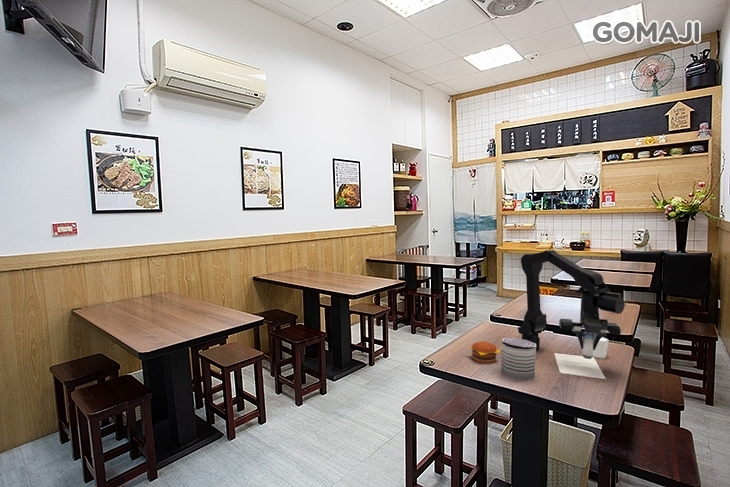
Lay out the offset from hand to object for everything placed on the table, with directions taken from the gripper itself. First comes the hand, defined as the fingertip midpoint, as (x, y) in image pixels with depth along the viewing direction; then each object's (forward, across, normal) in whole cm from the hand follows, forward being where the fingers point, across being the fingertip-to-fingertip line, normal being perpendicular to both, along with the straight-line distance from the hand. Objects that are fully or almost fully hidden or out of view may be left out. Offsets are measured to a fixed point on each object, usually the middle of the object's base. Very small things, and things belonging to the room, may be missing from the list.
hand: (587, 349), depth 141 cm
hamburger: (+7, -36, -4) cm, 37 cm away
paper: (+7, -3, +2) cm, 8 cm away
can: (+7, -24, -14) cm, 29 cm away
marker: (+3, 0, 0) cm, 3 cm away
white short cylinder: (+7, +7, +16) cm, 18 cm away
